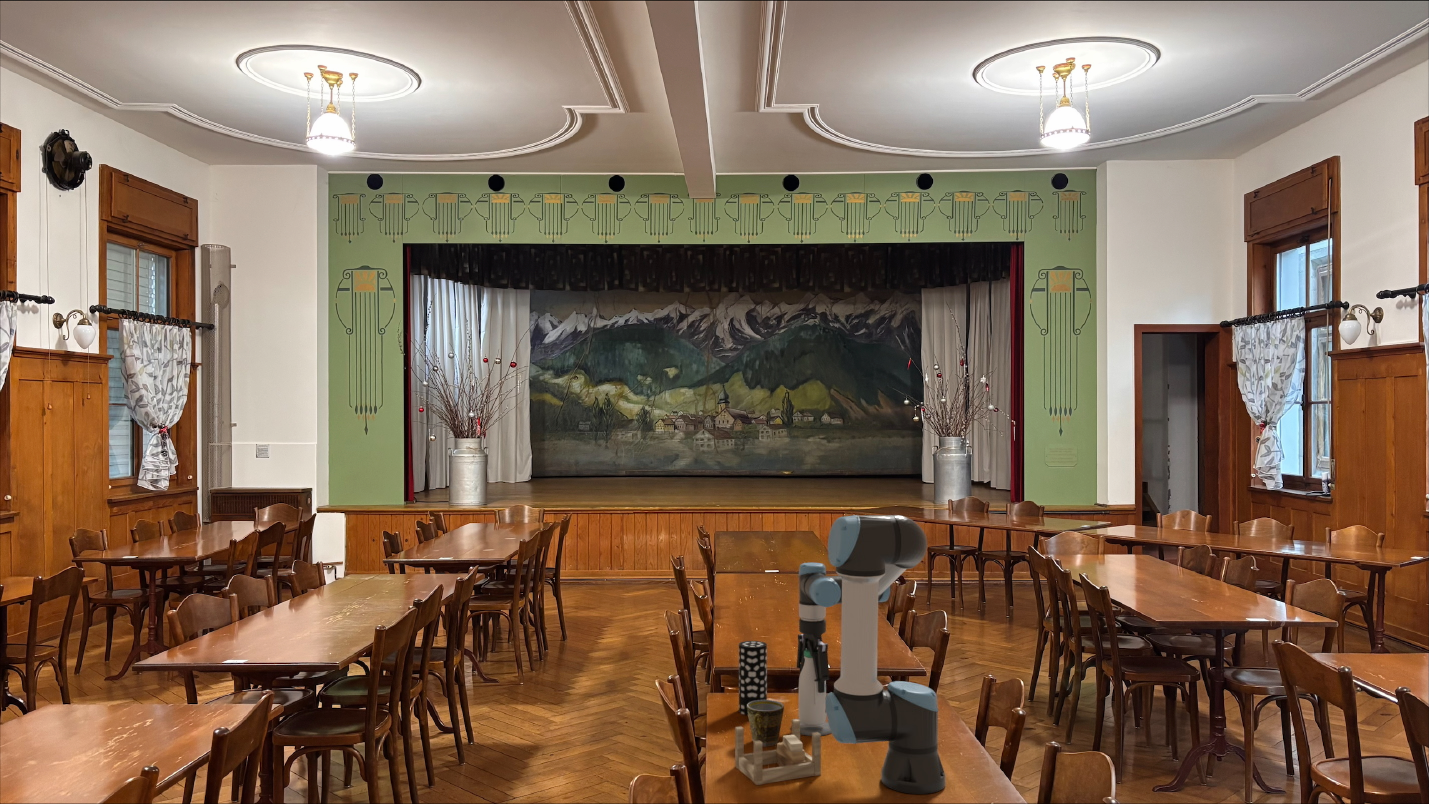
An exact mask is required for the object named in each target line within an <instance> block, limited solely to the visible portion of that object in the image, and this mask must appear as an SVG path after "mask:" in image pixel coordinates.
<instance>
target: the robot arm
mask: <svg viewBox="0 0 1429 804" xmlns="http://www.w3.org/2000/svg"><path fill="white" fill-rule="evenodd" d="M927 539H928V538H927V535H926V534H925V532H924V530H923V528H922V527H921V526H920V525H919V524H918V523H917V522H915V521H914V520H913V519H911V518H909V517H907V516H904V515H898V514H887V515H884V514H883V515H875V514H874V515H867V514H866V515H861V514H860V515H859V514H858V515H857V514H853V515H849V516H848V515H846V516H840V517H838V518H836V520H834V521H833V524H832V525H831V528H830V530H829V534H828V539H827V553H828V554H827V557H828V561H829V564H831V566H833V567H835V573H836V574H837V575H827V569H826V566H825V564H824V563H820V562H803V563H801V564H800V565H799V570H798V575H797V576H798V600H799V601H798V617H799V619H798V627H799V628H798V631H799V632H800V634H797V641H798V643H797V654H796V655H797V656H796V657H797V658H796V668H797V669H799V673H801V671H802V669H803V666H804V663H805V658H804V651H805V650H806V649H807V650H809V651H810V655H811V656H812V657H813V663H814V668H815V674H816V679H815V680H814V681H815V704H816V705H817V704H825V705H826V720H827V722H828V723H829V726H830V730H831V732H832V733H831V734H832V736H833V738H834V740H836V741H837V742H838V743H840V744H853V745H857V744H864V743H865V744H867V743H880V742H888V747H887V752H886V756H885V758H884V761H883V766H882V768H881V774H880V776H881V779H880V780H881V781H880V782H881V783H882V784H883V785H884V786H885V787H887V788H888V789H891V790H893V791H896V792H900V793H906V794H913V795H927V794H934V793H937V792H939V791H941V790H943V789H944V788H945V787H946V773H945V770H944V767H943V764H942V761H941V758H940V755H939V750H938V749H939V748H938V745H939V742H938V741H939V739H938V737H939V736H938V735H939V733H938V731H939V729H938V727H939V725H938V724H939V723H938V721H939V720H938V719H939V717H938V716H939V714H938V713H939V706H938V696H937V693H936V692H935V691H934V690H933V689H932V688H930V687H928V686H926V685H923V684H920V683H915V682H910V681H903V680H902V681H901V680H900V681H899V680H895V681H891V682H889V683H888V686H887V689H884V687H883V686H884V685H883V684H882V683H881V682H880V681H879V680H878V638H879V637H878V635H879V634H878V630H879V627H878V626H879V603H883V602H884V603H885V602H887V601H888V600H889V598H890V594H891V586H892V585H893V583H894V582H895V581H896V580H898V578H900V576H901V575H902V574H904V572H905V571H906V570H909V569H913V568H915V567H916V566H917V565H919V563H921V562H922V560H924V558H925V556H926V553H927V549H928V540H927ZM835 605H841V617H840V618H841V625H840V628H841V629H840V676H839V677H838V679H837V680H836V681H835V682H834V683H833V692H832V691H830V692H829V693H826V700H825V680H826V681H828V680H830V671H829V669H830V668H829V667H830V666H829V657H828V655H829V654H828V650H829V648H828V647H829V643H827V642H826V643H825V642H823V638H822V635H823V634H825V633H826V631H827V629H826V628H827V620H826V619H825V618H826V614H827V613H826V612H827V610H826V609H827V608H830V607H833V606H835ZM814 652H818V653H814Z"/></svg>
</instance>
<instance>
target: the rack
mask: <svg viewBox="0 0 1429 804" xmlns="http://www.w3.org/2000/svg"><path fill="white" fill-rule="evenodd" d="M791 726H792V729H791V735H795V736H796V737H797V738H798V739H799V740H800V741H801V734H800V720H799V718H793V719H791ZM734 731H735V733H734V735H735V739H734V741H735V746H734V747H735V748H734V751H735V752H734V753H735V754H734V756H735V757H734V758H735V759H734V761H735V762H734V765H735V766H734V767H735V768H736V770H738V771H740V772H741V773H742V774H744V776H746V777H747V778H749V780H750V781H752V783H753V784H755V785H756V786H761V785H764V784H771V783H776V782H777V783H778V782H782V781H789V780H795V779H802V778H808V777H813V776H814V777H816V776H821V775H822V757H821V756H822V754H821V753H822V749H821V747H822V736H821V734H820V733H818V732H815V733H812V736H811V754H808V752H806V751H805V761H806V763H800V764H794V765H787V766H777V767H776V766H775V767H769V768H764V769H763V766H766V765H772V764H778V753H777V748H776V749H770V750H763V746H762V742H761V741H760V740H758V741H754V742H753V752H750V753H749V752H748V753H745V751H744V748H745V746H744V742H745V740H744V739H745V737H744V736H745V735H744V734H745V733H744V727H742V726H741V725H740V726H735V727H734Z"/></svg>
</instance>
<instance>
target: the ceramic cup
mask: <svg viewBox="0 0 1429 804" xmlns="http://www.w3.org/2000/svg"><path fill="white" fill-rule="evenodd" d="M784 709H785V705H784V704H783V703H782V702H780V701H777V700H771V699H767V700H757V701H752V702H750V703H748V704H747V711H748V715H747V717H748V722H749V726H750V733H751V739H752V742H753V743H754V741H758V740H760V741H761V742H762V747H765V748H766V747H772V746H776V745H777V743H779V740H780V734H781V727H782V723H783V722H782V721H783V716H784Z"/></svg>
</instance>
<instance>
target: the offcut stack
mask: <svg viewBox="0 0 1429 804" xmlns="http://www.w3.org/2000/svg"><path fill="white" fill-rule="evenodd" d="M803 744H804V743H803V742H802V741H801V739H800V740H799V739H798V738H797V737H796V736H795V735H792V734H789V735H788V734H787V735H783V736H782V742H777V743H776V749H777V753H778V763H777V765H778V767H781V766H787V765H794V764H800V763H806V761H805V752H806V751H805V749H804V745H803Z"/></svg>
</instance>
